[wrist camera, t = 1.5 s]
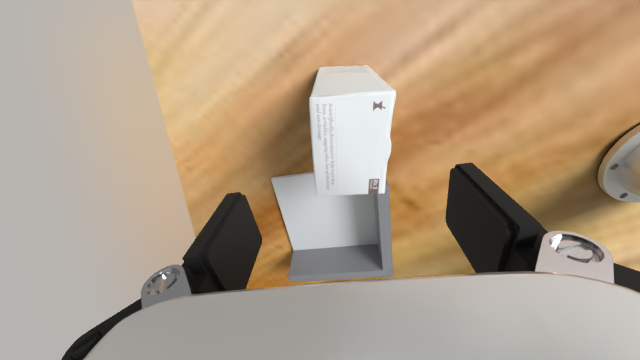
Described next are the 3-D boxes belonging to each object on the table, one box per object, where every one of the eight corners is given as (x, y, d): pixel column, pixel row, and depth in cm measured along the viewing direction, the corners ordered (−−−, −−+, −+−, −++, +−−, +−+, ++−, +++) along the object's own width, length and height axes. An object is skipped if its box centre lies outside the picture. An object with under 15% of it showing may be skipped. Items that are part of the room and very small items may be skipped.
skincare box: (318, 66, 28) (301, 88, 15) (371, 63, 28) (399, 84, 15) (322, 135, 32) (311, 198, 20) (367, 134, 32) (387, 198, 19)
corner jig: (381, 163, 34) (388, 185, 29) (386, 246, 41) (392, 276, 36) (271, 177, 36) (260, 200, 31) (295, 253, 44) (289, 282, 39)
